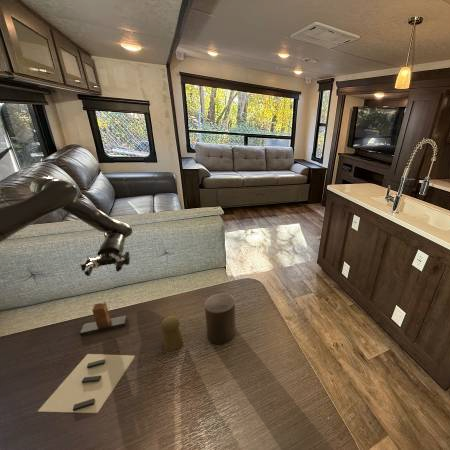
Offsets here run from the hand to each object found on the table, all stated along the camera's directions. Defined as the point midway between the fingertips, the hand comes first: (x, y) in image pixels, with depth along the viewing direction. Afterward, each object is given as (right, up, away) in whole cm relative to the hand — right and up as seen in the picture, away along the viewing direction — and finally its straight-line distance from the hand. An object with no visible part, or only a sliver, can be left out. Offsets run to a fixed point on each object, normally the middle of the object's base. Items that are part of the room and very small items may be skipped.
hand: (102, 271), depth 87 cm
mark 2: (+13, -26, -20) cm, 35 cm away
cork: (+28, -23, -6) cm, 37 cm away
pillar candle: (+42, -22, 0) cm, 48 cm away
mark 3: (+16, -29, -25) cm, 42 cm away
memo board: (+13, -27, -19) cm, 36 cm away
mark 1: (+11, -24, -16) cm, 31 cm away
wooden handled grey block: (+3, -19, -3) cm, 20 cm away
